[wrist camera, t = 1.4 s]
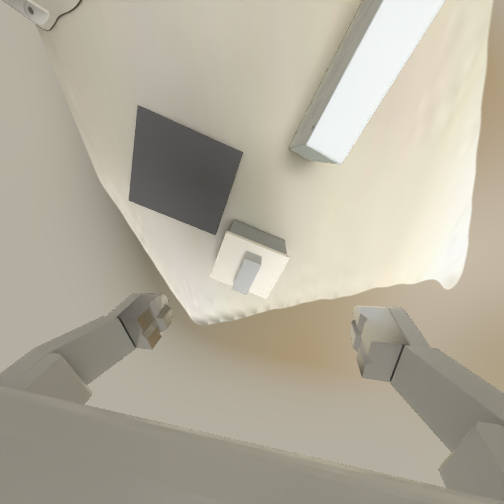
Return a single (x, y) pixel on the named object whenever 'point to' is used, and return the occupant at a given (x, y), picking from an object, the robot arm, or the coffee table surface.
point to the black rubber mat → (181, 171)
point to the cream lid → (248, 265)
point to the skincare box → (361, 75)
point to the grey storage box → (258, 236)
